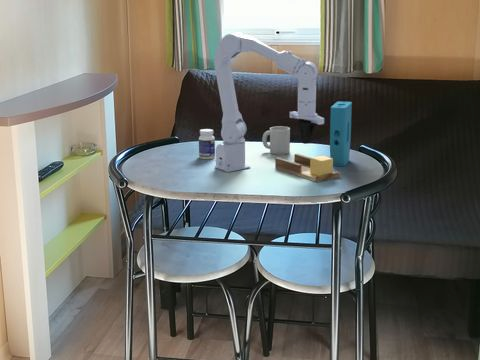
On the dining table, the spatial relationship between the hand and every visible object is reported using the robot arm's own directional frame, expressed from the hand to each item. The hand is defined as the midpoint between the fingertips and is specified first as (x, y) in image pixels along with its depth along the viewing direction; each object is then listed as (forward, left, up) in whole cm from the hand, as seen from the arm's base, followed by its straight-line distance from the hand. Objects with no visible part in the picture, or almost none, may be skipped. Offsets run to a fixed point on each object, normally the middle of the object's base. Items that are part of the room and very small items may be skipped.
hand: (306, 143), depth 217 cm
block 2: (+17, +2, -10) cm, 20 cm away
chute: (0, 0, -10) cm, 10 cm away
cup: (+9, +27, -10) cm, 30 cm away
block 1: (0, -8, -9) cm, 11 cm away
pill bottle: (-15, +36, -10) cm, 40 cm away
